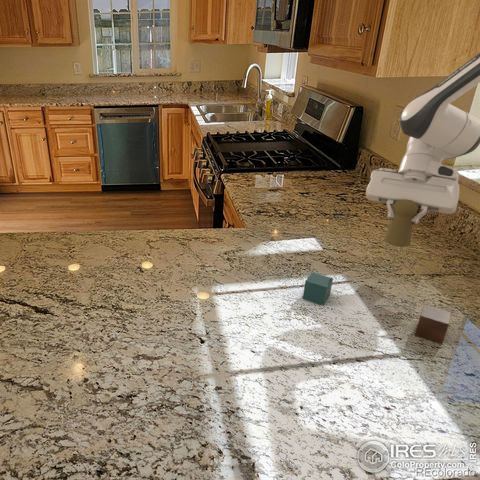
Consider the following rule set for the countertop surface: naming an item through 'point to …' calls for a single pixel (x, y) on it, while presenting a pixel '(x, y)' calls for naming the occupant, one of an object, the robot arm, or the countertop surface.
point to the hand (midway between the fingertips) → (402, 220)
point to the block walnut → (433, 324)
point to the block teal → (317, 288)
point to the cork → (401, 223)
